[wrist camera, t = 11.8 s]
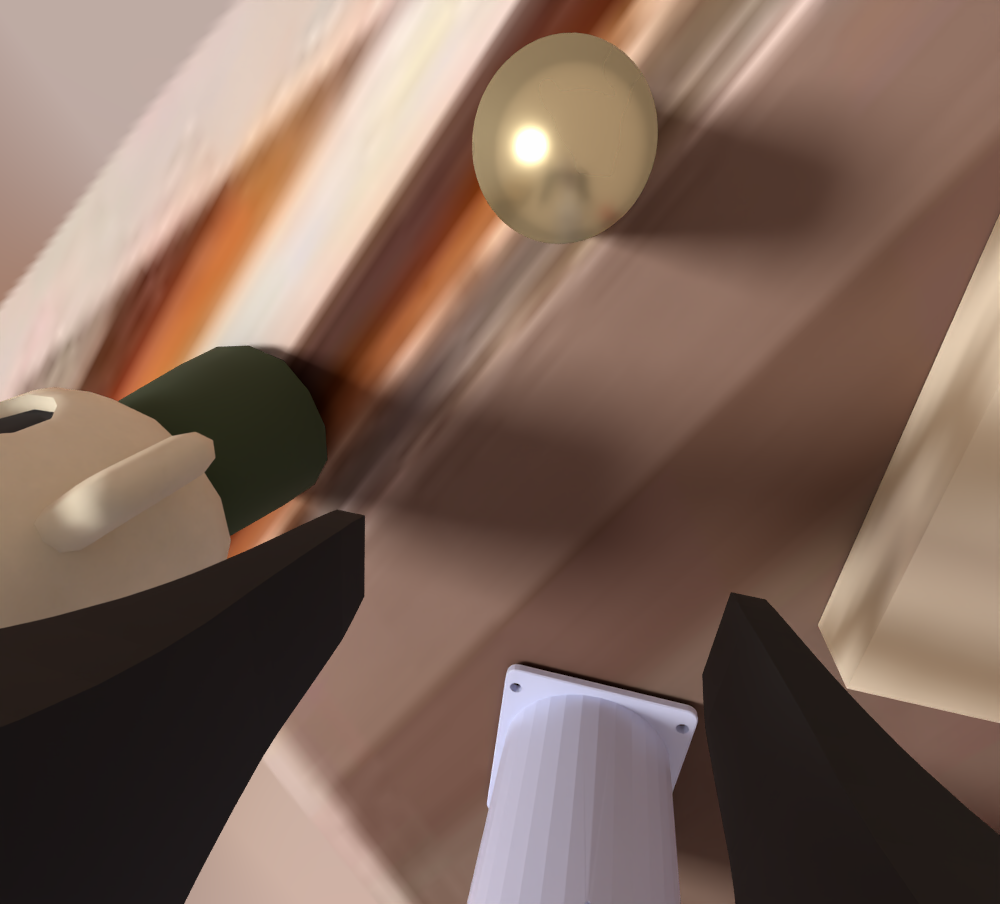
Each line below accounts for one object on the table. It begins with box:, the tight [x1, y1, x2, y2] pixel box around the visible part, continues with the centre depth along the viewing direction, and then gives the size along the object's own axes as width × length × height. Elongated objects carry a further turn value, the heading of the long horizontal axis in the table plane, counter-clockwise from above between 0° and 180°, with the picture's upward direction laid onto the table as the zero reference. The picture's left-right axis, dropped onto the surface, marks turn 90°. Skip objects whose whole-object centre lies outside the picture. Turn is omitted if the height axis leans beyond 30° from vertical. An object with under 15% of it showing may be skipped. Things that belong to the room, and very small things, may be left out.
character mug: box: [0, 346, 327, 628], centre depth 16 cm, size 11×7×13 cm, turn 122°
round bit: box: [472, 33, 658, 244], centre depth 14 cm, size 4×4×6 cm
